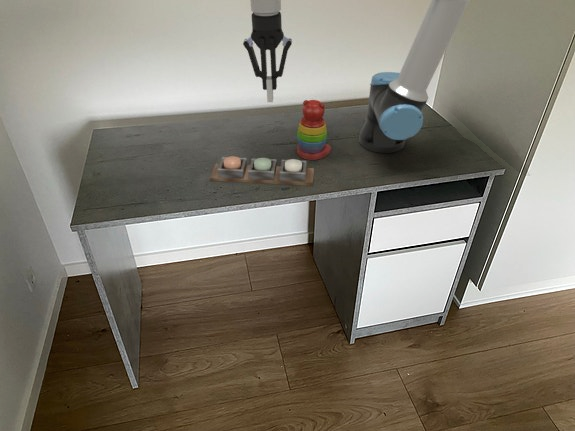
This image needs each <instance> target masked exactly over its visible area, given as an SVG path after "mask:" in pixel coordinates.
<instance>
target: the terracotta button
mask: <svg viewBox="0 0 575 431" xmlns="http://www.w3.org/2000/svg"><path fill="white" fill-rule="evenodd" d="M226 157H227V158H225V159H224V169H238V170H241V160H240V158H241V157H238V156H232V155H231V156H226Z"/></svg>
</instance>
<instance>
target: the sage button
mask: <svg viewBox="0 0 575 431" xmlns="http://www.w3.org/2000/svg"><path fill="white" fill-rule="evenodd" d="M255 159H256V160H255V161H254V170H259V171H271V160H270V159H271V158H268V157H258V158H255Z"/></svg>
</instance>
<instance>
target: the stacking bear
mask: <svg viewBox="0 0 575 431" xmlns="http://www.w3.org/2000/svg"><path fill="white" fill-rule="evenodd" d="M302 104H303V107H302V114H303V116H302V118H301V119H300V121H299V123H298V124H299V125H298V128H297V131H296V133H297V135H296V139H297V147H296V153H297V155H298V156H299V157H300V158H302V159H304V160H306V161H307V160H308V161H315V160H320V159H323V158H325V157H327V156H328V155H329V154H330V153H331V152H332V146H330V145H329V144H328V143H327V139H328V129H327V124H326V120H325V119H324V118H323V117H324V115H325V110H326V109H325V103H323V102H321V101H320V100H317V99H310V100H307V99H305V100H303V101H302ZM326 143H327V144H326Z"/></svg>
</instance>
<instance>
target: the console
mask: <svg viewBox="0 0 575 431" xmlns="http://www.w3.org/2000/svg"><path fill="white" fill-rule="evenodd" d="M227 157H228V156H222V157H221V160H220V162H219V163H215V164H214V167H213V169H212V171H211V175H210V181H213V182H228V183H229V182H230V183H231V182H232V183H233V182H234V183H250V184H251V183H252V184H253V183H254V184H270V185H275V184H276V185H293V186H310V187H311V186H314V176H315V175H314V174H315V167H307V160H300V161H301V162H302V173H301V172H285V162H286V161H287V160H288V159H281V162H280V166H279V165H277V159H276V158H274V159H273V158H269V159H270V160H271V171H259V170H254V161H255V160H256V159H257V158H251V160H250V164H248V159H247V157H239V158H240V160H241V170H238V169H224V159H225V158H227Z"/></svg>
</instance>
